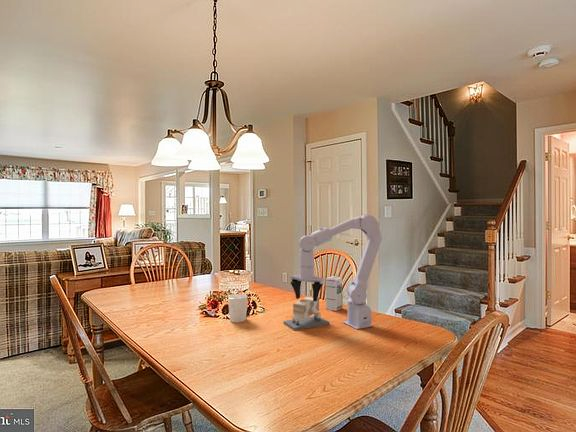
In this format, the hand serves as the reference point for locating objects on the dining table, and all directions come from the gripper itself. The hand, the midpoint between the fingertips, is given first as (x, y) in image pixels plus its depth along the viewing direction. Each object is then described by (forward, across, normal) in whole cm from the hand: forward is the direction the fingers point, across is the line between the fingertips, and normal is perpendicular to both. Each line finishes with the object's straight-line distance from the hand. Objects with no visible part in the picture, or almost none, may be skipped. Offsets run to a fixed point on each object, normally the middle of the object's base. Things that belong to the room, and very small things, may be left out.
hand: (306, 299), depth 146 cm
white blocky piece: (+6, 0, 0) cm, 6 cm away
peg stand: (+10, 0, 0) cm, 10 cm away
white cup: (+10, +27, +10) cm, 30 cm away
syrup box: (+10, -1, -26) cm, 27 cm away
